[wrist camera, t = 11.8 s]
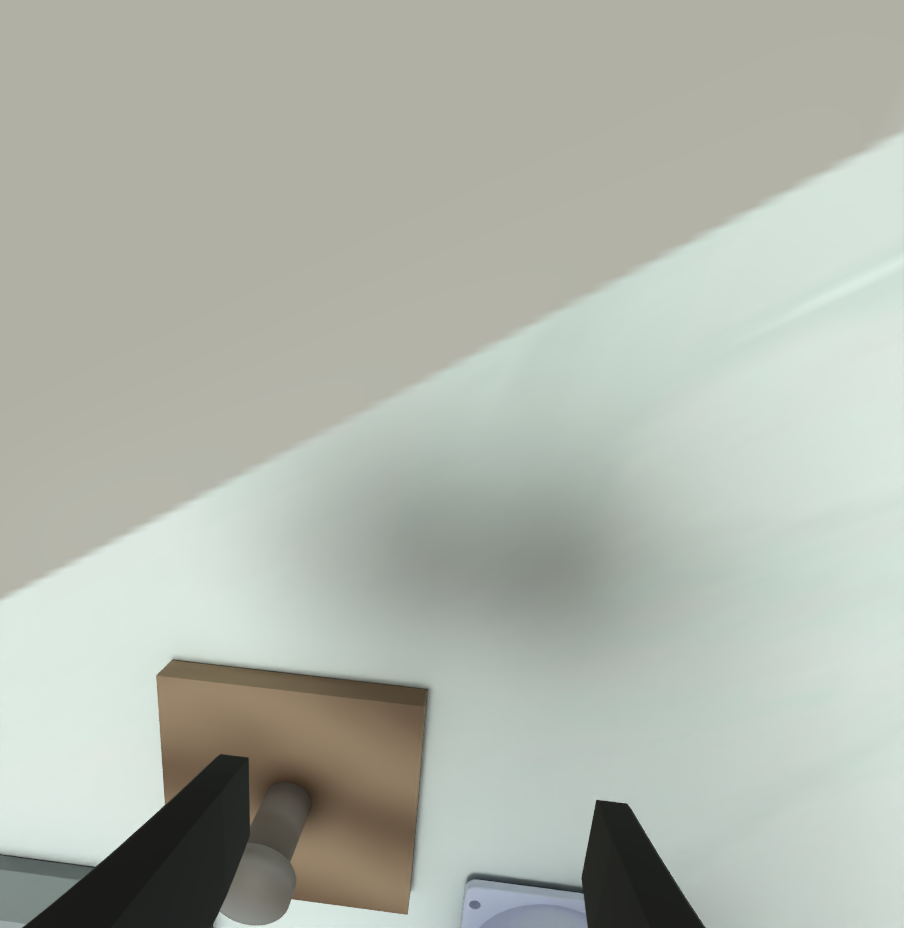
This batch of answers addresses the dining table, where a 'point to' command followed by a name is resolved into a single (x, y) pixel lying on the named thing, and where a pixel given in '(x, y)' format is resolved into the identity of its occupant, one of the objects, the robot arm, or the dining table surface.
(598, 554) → the dining table surface
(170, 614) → the dining table surface
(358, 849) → the block
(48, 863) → the grey rectangular frame
